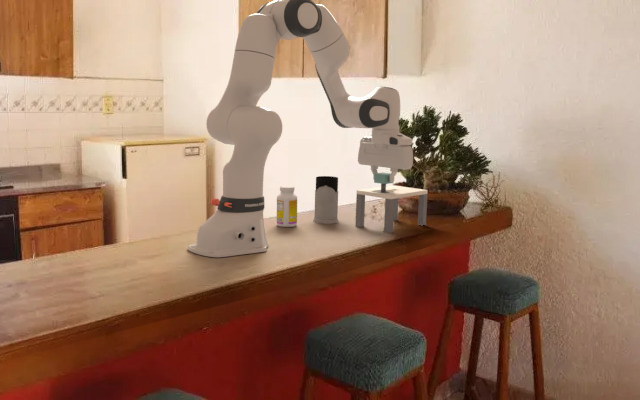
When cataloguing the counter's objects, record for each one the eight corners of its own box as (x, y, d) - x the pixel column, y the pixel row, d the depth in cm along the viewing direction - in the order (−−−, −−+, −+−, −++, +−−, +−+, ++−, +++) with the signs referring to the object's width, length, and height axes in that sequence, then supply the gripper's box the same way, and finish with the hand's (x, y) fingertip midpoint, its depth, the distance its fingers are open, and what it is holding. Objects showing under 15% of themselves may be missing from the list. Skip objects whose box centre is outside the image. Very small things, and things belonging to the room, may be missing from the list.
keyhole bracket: (388, 233, 209) (390, 195, 207) (355, 226, 218) (356, 190, 216) (425, 225, 223) (427, 190, 221) (392, 219, 232) (394, 185, 230)
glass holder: (311, 222, 222) (312, 178, 220) (316, 215, 236) (318, 173, 234) (337, 224, 221) (338, 179, 219) (341, 216, 235) (342, 174, 232)
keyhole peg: (384, 197, 212) (385, 174, 211) (373, 196, 215) (374, 173, 214) (392, 196, 215) (393, 173, 214) (382, 195, 218) (382, 172, 217)
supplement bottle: (298, 224, 219) (298, 185, 217) (295, 228, 213) (296, 188, 211) (278, 223, 220) (278, 184, 218) (274, 227, 213) (275, 187, 211)
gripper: (354, 136, 217) (353, 178, 219) (404, 140, 203) (402, 185, 205) (366, 135, 222) (365, 176, 224) (416, 139, 208) (414, 183, 210)
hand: (383, 180), depth 215 cm, fingers closed on keyhole peg, 4 cm apart
